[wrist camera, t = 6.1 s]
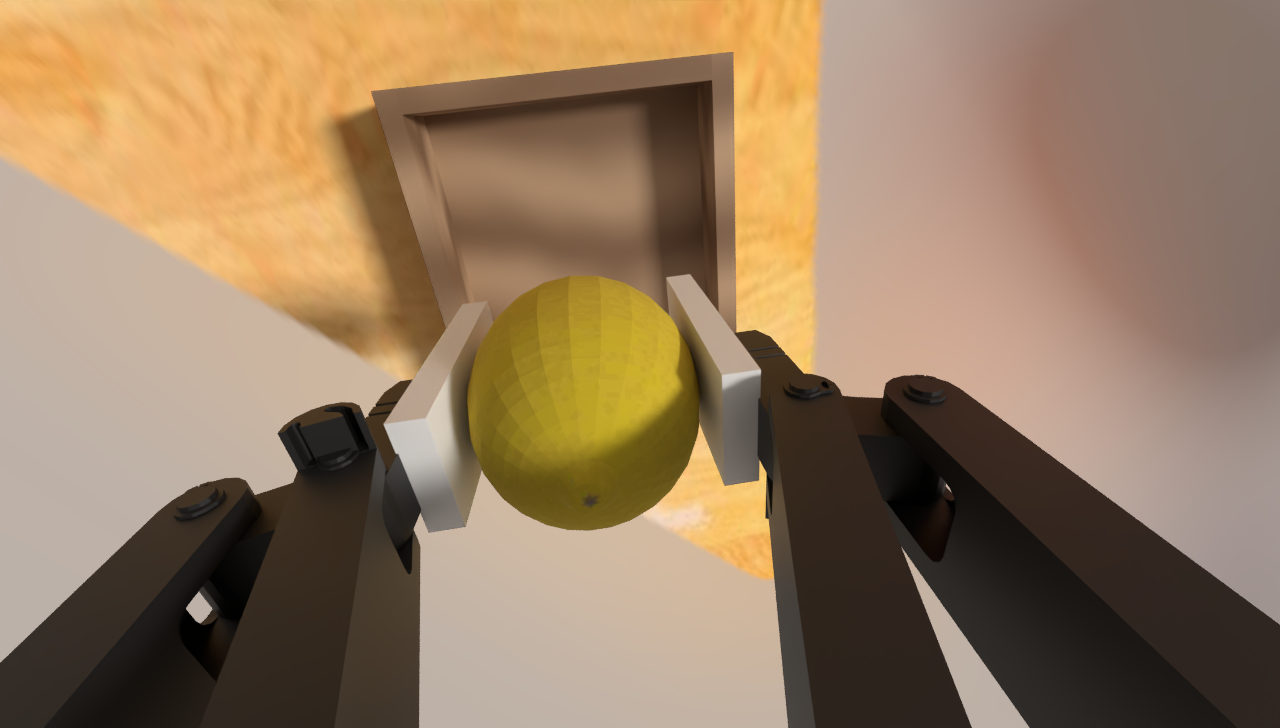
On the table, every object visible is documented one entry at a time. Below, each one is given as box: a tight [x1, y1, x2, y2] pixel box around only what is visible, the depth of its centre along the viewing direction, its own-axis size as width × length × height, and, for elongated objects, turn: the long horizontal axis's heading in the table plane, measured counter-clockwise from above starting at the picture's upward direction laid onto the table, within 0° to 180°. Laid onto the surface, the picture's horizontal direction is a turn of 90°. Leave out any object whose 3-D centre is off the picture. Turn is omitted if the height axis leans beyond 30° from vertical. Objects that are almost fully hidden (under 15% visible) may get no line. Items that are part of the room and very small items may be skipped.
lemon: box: [467, 276, 700, 530], centre depth 12 cm, size 6×6×8 cm
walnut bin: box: [371, 52, 736, 333], centre depth 26 cm, size 16×16×4 cm
